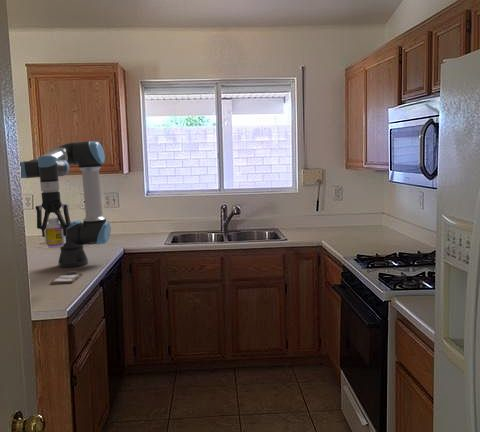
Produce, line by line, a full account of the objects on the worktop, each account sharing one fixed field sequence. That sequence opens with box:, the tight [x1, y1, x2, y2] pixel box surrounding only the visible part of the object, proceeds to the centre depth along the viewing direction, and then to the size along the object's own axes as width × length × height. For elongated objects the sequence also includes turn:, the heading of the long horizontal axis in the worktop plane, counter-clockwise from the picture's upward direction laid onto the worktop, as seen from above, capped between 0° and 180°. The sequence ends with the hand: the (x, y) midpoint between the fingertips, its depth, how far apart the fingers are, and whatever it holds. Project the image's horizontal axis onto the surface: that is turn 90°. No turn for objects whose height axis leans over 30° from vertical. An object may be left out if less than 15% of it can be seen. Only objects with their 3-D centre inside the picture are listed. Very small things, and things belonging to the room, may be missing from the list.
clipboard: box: [49, 270, 83, 286], centre depth 243 cm, size 16×10×2 cm, turn 1°
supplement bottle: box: [46, 216, 64, 249], centre depth 226 cm, size 7×7×13 cm
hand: (55, 243), depth 227 cm, fingers closed on supplement bottle, 7 cm apart
